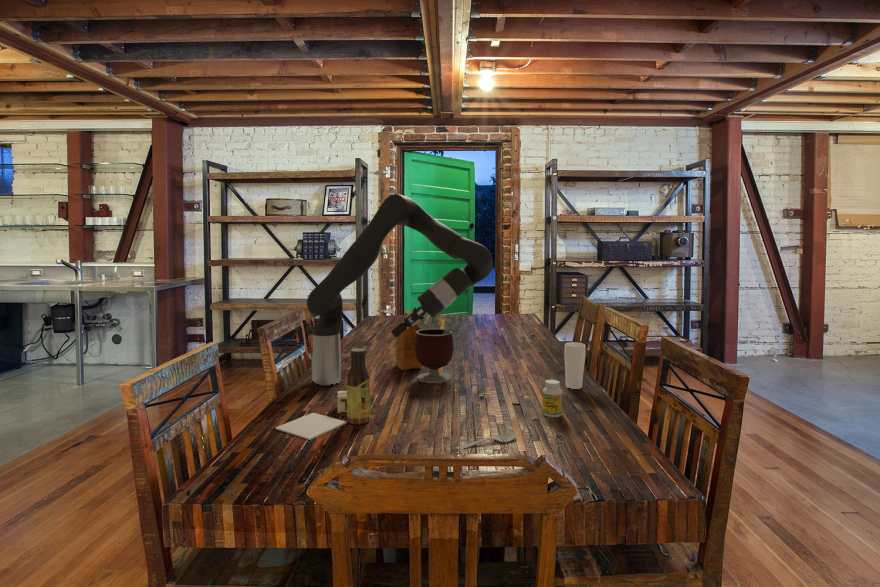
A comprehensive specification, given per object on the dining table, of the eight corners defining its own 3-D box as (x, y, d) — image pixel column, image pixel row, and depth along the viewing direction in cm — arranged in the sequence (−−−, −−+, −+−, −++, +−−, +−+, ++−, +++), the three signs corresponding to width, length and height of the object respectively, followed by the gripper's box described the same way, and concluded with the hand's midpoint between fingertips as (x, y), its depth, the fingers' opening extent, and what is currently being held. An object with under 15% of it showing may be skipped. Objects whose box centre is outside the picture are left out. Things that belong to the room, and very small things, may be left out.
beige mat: (275, 429, 123) (275, 427, 123) (313, 413, 134) (313, 412, 134) (309, 440, 116) (309, 438, 116) (346, 423, 127) (346, 421, 127)
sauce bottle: (365, 426, 124) (364, 353, 122) (343, 424, 126) (341, 352, 123) (373, 417, 131) (372, 347, 129) (352, 416, 132) (351, 346, 130)
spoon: (520, 442, 116) (520, 436, 116) (444, 457, 108) (444, 450, 107) (511, 436, 119) (511, 429, 119) (437, 449, 111) (437, 443, 111)
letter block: (338, 407, 139) (337, 391, 139) (355, 406, 140) (354, 390, 140) (337, 413, 134) (337, 396, 134) (355, 412, 135) (355, 395, 135)
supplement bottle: (561, 412, 135) (562, 379, 134) (560, 418, 130) (561, 385, 129) (542, 410, 137) (543, 378, 136) (541, 416, 132) (542, 383, 131)
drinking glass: (585, 386, 160) (587, 343, 158) (582, 392, 154) (584, 347, 152) (565, 383, 163) (566, 341, 161) (561, 389, 156) (563, 345, 155)
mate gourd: (408, 381, 165) (408, 325, 163) (423, 371, 178) (423, 319, 176) (450, 386, 160) (450, 328, 157) (462, 375, 173) (462, 322, 170)
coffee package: (418, 362, 192) (417, 309, 190) (424, 370, 180) (424, 313, 178) (394, 363, 190) (393, 310, 187) (399, 371, 178) (398, 314, 175)
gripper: (427, 290, 141) (385, 325, 139) (430, 285, 127) (384, 323, 125) (443, 309, 141) (401, 344, 139) (448, 306, 127) (402, 345, 125)
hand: (393, 334), depth 132 cm, fingers open, 8 cm apart
